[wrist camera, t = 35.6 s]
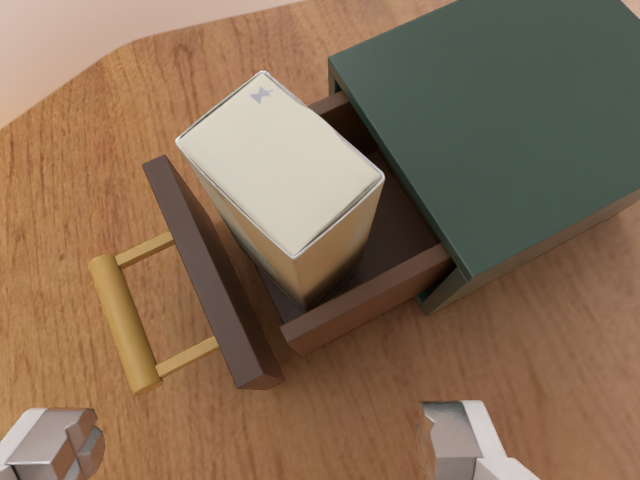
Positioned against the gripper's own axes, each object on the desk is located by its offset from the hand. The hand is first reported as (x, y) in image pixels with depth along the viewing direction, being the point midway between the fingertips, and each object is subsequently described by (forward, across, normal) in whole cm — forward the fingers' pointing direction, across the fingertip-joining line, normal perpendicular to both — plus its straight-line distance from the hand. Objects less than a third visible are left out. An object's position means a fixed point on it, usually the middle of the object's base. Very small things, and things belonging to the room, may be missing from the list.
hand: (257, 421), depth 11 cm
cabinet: (+20, -11, +1) cm, 23 cm away
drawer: (+15, +1, +4) cm, 16 cm away
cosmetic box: (+15, 0, +4) cm, 16 cm away
